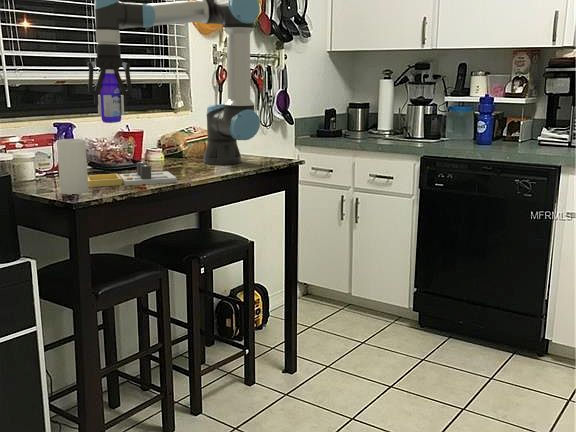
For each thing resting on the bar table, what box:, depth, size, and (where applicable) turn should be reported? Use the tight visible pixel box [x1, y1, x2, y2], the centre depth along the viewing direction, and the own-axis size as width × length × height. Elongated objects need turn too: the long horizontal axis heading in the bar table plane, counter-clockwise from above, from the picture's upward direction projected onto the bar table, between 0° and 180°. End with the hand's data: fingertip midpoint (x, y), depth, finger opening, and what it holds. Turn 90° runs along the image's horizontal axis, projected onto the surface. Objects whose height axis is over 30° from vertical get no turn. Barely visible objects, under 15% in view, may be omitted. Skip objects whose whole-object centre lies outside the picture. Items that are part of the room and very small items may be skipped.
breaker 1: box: [136, 161, 148, 175], centre depth 214 cm, size 3×3×4 cm
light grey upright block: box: [56, 138, 90, 196], centre depth 191 cm, size 8×8×16 cm
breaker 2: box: [140, 164, 152, 179], centre depth 208 cm, size 3×3×4 cm
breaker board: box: [118, 171, 178, 187], centre depth 213 cm, size 17×14×2 cm
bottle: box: [99, 69, 122, 124], centre depth 208 cm, size 7×6×17 cm
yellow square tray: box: [88, 173, 123, 188], centre depth 207 cm, size 11×11×2 cm
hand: (111, 114), depth 210 cm, fingers closed on bottle, 7 cm apart
